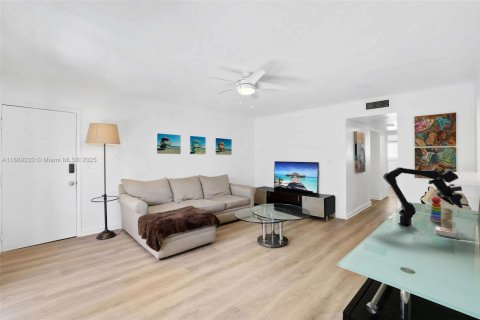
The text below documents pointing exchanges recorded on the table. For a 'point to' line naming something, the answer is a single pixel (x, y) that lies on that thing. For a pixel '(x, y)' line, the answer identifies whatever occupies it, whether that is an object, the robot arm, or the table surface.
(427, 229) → the table surface
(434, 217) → the stacking toy
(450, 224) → the maple pillar
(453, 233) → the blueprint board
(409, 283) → the table surface
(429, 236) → the table surface
